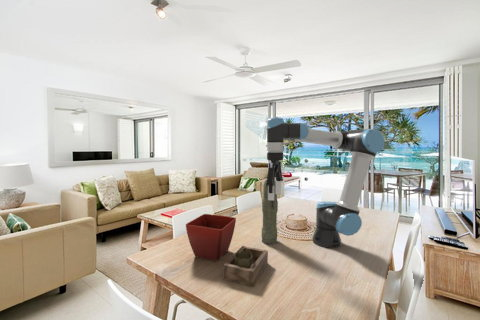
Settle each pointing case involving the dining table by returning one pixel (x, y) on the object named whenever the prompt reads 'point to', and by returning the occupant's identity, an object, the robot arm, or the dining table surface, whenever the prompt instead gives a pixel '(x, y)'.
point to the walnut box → (246, 274)
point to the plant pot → (210, 235)
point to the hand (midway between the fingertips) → (274, 197)
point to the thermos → (269, 216)
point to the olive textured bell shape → (244, 259)
